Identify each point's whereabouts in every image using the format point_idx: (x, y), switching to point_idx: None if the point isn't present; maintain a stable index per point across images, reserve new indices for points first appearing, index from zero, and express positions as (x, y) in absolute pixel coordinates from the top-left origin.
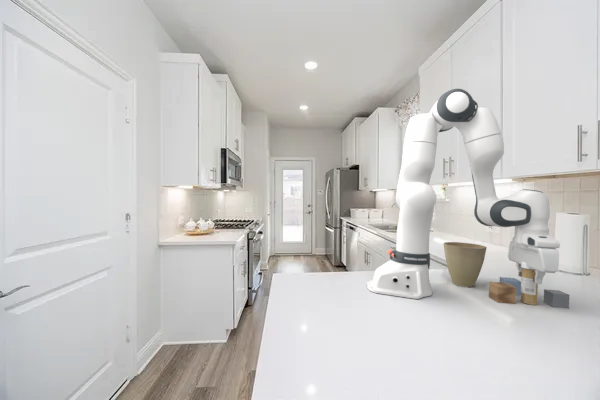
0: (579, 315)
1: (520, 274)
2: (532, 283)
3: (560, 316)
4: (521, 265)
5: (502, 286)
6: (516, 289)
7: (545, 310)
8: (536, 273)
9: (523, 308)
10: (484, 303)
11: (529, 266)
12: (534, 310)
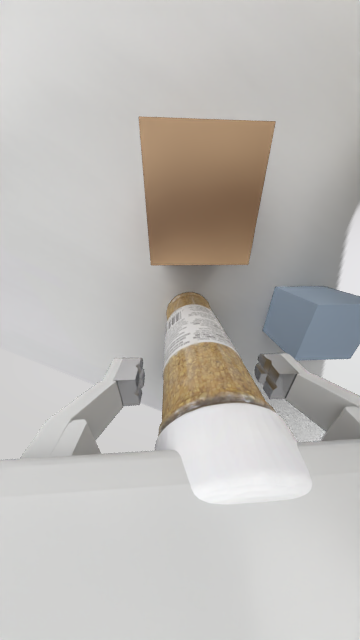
0: None
1: (271, 361)
2: (164, 355)
3: (89, 334)
4: (258, 423)
5: (146, 166)
6: (277, 325)
7: (128, 323)
8: (67, 416)
9: (116, 260)
10: (108, 60)
11: (116, 464)
12: (111, 289)
